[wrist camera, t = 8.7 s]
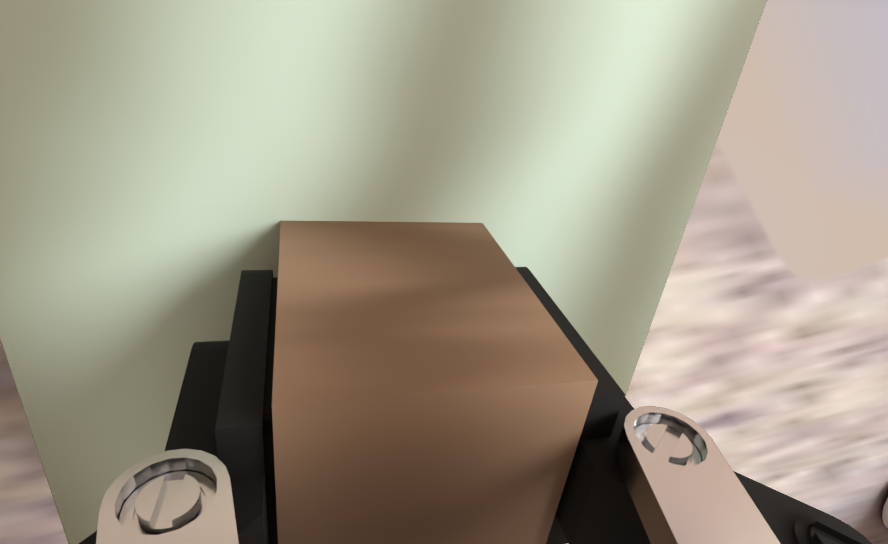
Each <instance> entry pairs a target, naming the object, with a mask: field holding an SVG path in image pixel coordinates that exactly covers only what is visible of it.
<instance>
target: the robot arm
mask: <svg viewBox="0 0 888 544" xmlns="http://www.w3.org/2000/svg"><path fill="white" fill-rule="evenodd" d="M515 268H516V269H517V271H518V272H519V273H520V275H521V276H522V277H523V279H524V280H525V281H526V283H527V284H528V285H529V287H530V288H531V290H532V291H533V292H534V294H535V295H536V296H537V298H538V299H539V300H540V302H541V303H542V305H543V306H544V307H545V309H546V310H547V311H548V313H549V314H550V315H551V317H552V318H553V320H554V321H555V322H556V324H557V325H558V326H559V328H560V329H561V330H562V332H563V333H564V335H565V336H566V337H567V339H568V340H569V341H570V343H571V344H572V345H573V347H574V348H575V350H576V351H577V352H578V354H579V355H580V356H581V358H582V359H583V360H584V362H585V363H586V364H587V366H588V367H589V369H590V370H591V371H592V373H593V374H594V375H595V377H596V378H597V379H598V383H597V386H596V389H595V392H594V395H593V398H592V402H591V405H590V408H589V411H588V414H587V417H586V420H585V423H584V426H583V430H582V433H581V436H580V439H579V442H578V445H577V448H576V451H575V455H574V458H573V461H572V464H571V467H570V470H569V473H568V476H567V479H566V483H565V486H564V489H563V492H562V495H561V498H560V501H559V504H558V507H557V511H556V514H555V517H554V520H553V523H552V526H551V529H550V532H549V535H548V539H547V542H546V544H566V543H569V544H871V543H870V542H869V541H868V540H867V539H866V538H865V537H864V536H863V535H861V534H860V533H859V532H857V531H856V530H855V529H853V528H852V527H851V526H849V525H848V524H846V523H844V522H842V521H840V520H839V519H837V518H835V517H833V516H831V515H829V514H827V513H824V512H822V511H820V510H818V509H816V508H813V507H811V506H809V505H807V504H805V503H802V502H800V501H798V500H796V499H794V498H791V497H789V496H787V495H785V494H783V493H780V492H778V491H776V490H774V489H772V488H769V487H767V486H765V485H763V484H761V483H758V482H756V481H754V480H752V479H750V478H747V477H745V476H743V475H741V474H739V473H736V472H734V471H733V470H732V468H731V467H730V465H729V464H728V462H727V461H726V459H725V458H724V456H723V455H722V453H721V452H720V450H719V449H718V447H717V446H716V444H715V442H714V441H713V439H712V438H711V437H710V436H709V435H708V434H707V432H706V431H705V430H704V429H703V428H702V427H700V426H699V425H698V424H697V423H695V422H694V421H693V420H691V419H689V418H688V417H686V416H684V415H682V414H680V413H678V412H675V411H672V410H669V409H667V408H661V407H655V406H645V407H639V408H636V409H634V408H633V407H632V406H631V404H630V403H629V402H628V400H627V399H626V398H625V393H624V392H623V391H622V389H621V388H620V387H619V386H618V384H617V383H616V382H615V380H614V379H613V378H612V376H611V375H610V374H609V373H608V371H607V370H606V369H605V367H604V366H603V365H602V363H601V362H600V361H599V360H598V358H597V357H596V356H595V354H594V353H593V352H592V350H591V349H590V348H589V347H588V345H587V344H586V343H585V341H584V340H583V339H582V337H581V336H580V335H579V334H578V332H577V331H576V330H575V328H574V327H573V326H572V324H571V323H570V322H569V321H568V319H567V318H566V317H565V315H564V314H563V313H562V311H561V310H560V309H559V308H558V306H557V305H556V304H555V302H554V301H553V300H552V298H551V297H550V296H549V295H548V293H547V292H546V291H545V289H544V288H543V287H542V285H541V284H540V283H539V282H538V280H537V279H536V278H535V276H534V275H533V274H532V272H531V271H530V270H529V269H528V268H527V267H515ZM277 286H278V277H273V270H242V271H241V276H240V282H239V287H238V293H237V299H236V305H235V311H234V317H233V323H232V329H231V335H230V340H227V341H205V342H195V343H194V344H193V346H192V349H191V352H190V356H189V360H188V364H187V367H186V371H185V375H184V379H183V383H182V386H181V390H180V394H179V398H178V402H177V405H176V409H175V413H174V417H173V421H172V424H171V428H170V432H169V436H168V440H167V443H166V447H165V451H164V452H161V453H158V454H155V455H152V456H149V457H147V458H145V459H143V460H141V461H139V462H138V463H136V464H134V465H132V466H130V467H129V468H128V469H127V470H126V471H124V472H123V473H122V474H121V475H120V476H119V477H117V478H116V479H115V480H114V482H113V483H112V485H111V486H110V487H109V489H108V490H107V491H106V493H105V494H104V497H103V500H102V504H101V507H100V510H99V519H98V528H97V531H95V532H94V533H93V534H91V535H90V536H88V537H87V538H86V539H84V540H83V541H81V542H80V543H79V544H278V531H277V509H276V488H275V466H274V444H273V422H272V389H273V369H274V348H275V327H276V307H277ZM882 519H883V523H884V525H885V526H886V527H887V528H888V497H887V499H886V502H885V504H884V507H883V513H882Z"/></svg>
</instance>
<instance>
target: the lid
mask: <svg viewBox="0 0 888 544" xmlns="http://www.w3.org/2000/svg"><path fill="white" fill-rule="evenodd" d="M766 2H767V0H0V339H1V342H2V345H3V348H4V351H5V354H6V357H7V360H8V363H9V366H10V369H11V372H12V375H13V378H14V381H15V384H16V387H17V390H18V393H19V396H20V399H21V402H22V405H23V408H24V411H25V414H26V417H27V420H28V423H29V426H30V429H31V432H32V435H33V438H34V441H35V444H36V447H37V450H38V453H39V456H40V459H41V462H42V465H43V468H44V471H45V474H46V477H47V480H48V483H49V486H50V489H51V492H52V495H53V498H54V501H55V504H56V507H57V510H58V513H59V516H60V519H61V522H62V525H63V528H64V531H65V534H66V537H67V541H68V544H79V543H80V542H81V541H83V540H84V539H86V538H87V537H88V536H90V535H91V534H93V533H94V532H95V531H97V528H98V519H99V510H100V507H101V504H102V500H103V497H104V494H105V493H106V491H107V490H108V489H109V487H110V486H111V485H112V483H113V482H114V480H115V479H116V478H117V477H119V476H120V475H121V474H122V473H123V472H124V471H126V470H127V469H128V468H129V467H130V466H132V465H134V464H136V463H138V462H139V461H141V460H143V459H145V458H147V457H149V456H152V455H155V454H158V453H161V452H164V451H165V447H166V443H167V440H168V436H169V432H170V428H171V424H172V421H173V417H174V413H175V409H176V405H177V402H178V398H179V394H180V390H181V386H182V383H183V379H184V375H185V371H186V367H187V364H188V360H189V356H190V352H191V349H192V346H193V344H194V343H195V342H205V341H227V340H230V335H231V329H232V323H233V317H234V311H235V305H236V299H237V293H238V287H239V282H240V276H241V271H242V270H273V277H278V286H277V307H276V327H275V348H274V369H273V389H272V422H273V444H274V466H275V488H276V509H277V531H278V544H546V542H547V539H548V535H549V532H550V529H551V526H552V523H553V520H554V517H555V514H556V511H557V507H558V504H559V501H560V498H561V495H562V492H563V489H564V486H565V483H566V479H567V476H568V473H569V470H570V467H571V464H572V461H573V458H574V455H575V451H576V448H577V445H578V442H579V439H580V436H581V433H582V430H583V426H584V423H585V420H586V417H587V414H588V411H589V408H590V405H591V402H592V398H593V395H594V392H595V389H596V386H597V383H598V379H597V378H596V377H595V375H594V374H593V373H592V371H591V370H590V369H589V367H588V366H587V364H586V363H585V362H584V360H583V359H582V358H581V356H580V355H579V354H578V352H577V351H576V350H575V348H574V347H573V345H572V344H571V343H570V341H569V340H568V339H567V337H566V336H565V335H564V333H563V332H562V330H561V329H560V328H559V326H558V325H557V324H556V322H555V321H554V320H553V318H552V317H551V315H550V314H549V313H548V311H547V310H546V309H545V307H544V306H543V305H542V303H541V302H540V300H539V299H538V298H537V296H536V295H535V294H534V292H533V291H532V290H531V288H530V287H529V285H528V284H527V283H526V281H525V280H524V279H523V277H522V276H521V275H520V273H519V272H518V271H517V269H516V268H515V267H527V268H528V269H529V270H530V271H531V272H532V274H533V275H534V276H535V278H536V279H537V280H538V282H539V283H540V284H541V285H542V287H543V288H544V289H545V291H546V292H547V293H548V295H549V296H550V297H551V298H552V300H553V301H554V302H555V304H556V305H557V306H558V308H559V309H560V310H561V311H562V313H563V314H564V315H565V317H566V318H567V319H568V321H569V322H570V323H571V324H572V326H573V327H574V328H575V330H576V331H577V332H578V334H579V335H580V336H581V337H582V339H583V340H584V341H585V343H586V344H587V345H588V347H589V348H590V349H591V350H592V352H593V353H594V354H595V356H596V357H597V358H598V360H599V361H600V362H601V363H602V365H603V366H604V367H605V369H606V370H607V371H608V373H609V374H610V375H611V376H612V378H613V379H614V380H615V382H616V383H617V384H618V386H619V387H620V388H621V389H622V391H623V392H624V393H625V396H626V393H627V390H628V387H629V385H630V382H631V379H632V376H633V373H634V371H635V368H636V365H637V362H638V359H639V357H640V354H641V351H642V348H643V345H644V343H645V340H646V337H647V334H648V331H649V329H650V326H651V323H652V320H653V317H654V315H655V312H656V309H657V306H658V303H659V301H660V298H661V295H662V292H663V289H664V287H665V284H666V281H667V278H668V276H669V273H670V270H671V267H672V264H673V262H674V259H675V256H676V253H677V250H678V248H679V245H680V242H681V239H682V236H683V234H684V231H685V228H686V225H687V222H688V220H689V217H690V214H691V211H692V208H693V206H694V203H695V200H696V197H697V194H698V192H699V189H700V186H701V183H702V180H703V178H704V175H705V172H706V169H707V166H708V164H709V161H710V158H711V155H712V153H713V150H714V147H715V144H716V141H717V139H718V136H719V133H720V130H721V127H722V124H723V122H724V119H725V116H726V113H727V110H728V108H729V105H730V102H731V99H732V97H733V94H734V91H735V88H736V85H737V82H738V79H739V77H740V74H741V71H742V69H743V66H744V63H745V60H746V57H747V54H748V52H749V49H750V46H751V43H752V40H753V38H754V35H755V32H756V29H757V26H758V24H759V21H760V18H761V16H762V13H763V10H764V7H765V4H766Z"/></svg>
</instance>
